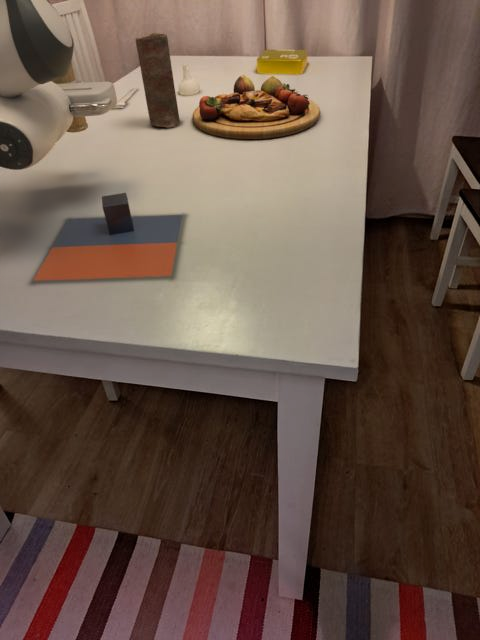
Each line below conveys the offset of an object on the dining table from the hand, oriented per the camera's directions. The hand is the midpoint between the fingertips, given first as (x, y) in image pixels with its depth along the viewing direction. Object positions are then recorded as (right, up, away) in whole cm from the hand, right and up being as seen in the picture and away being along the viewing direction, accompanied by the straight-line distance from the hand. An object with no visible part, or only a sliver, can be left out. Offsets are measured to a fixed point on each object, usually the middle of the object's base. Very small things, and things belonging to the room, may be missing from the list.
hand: (66, 87), depth 84 cm
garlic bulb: (+17, +24, +53) cm, 61 cm away
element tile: (+46, +41, +70) cm, 93 cm away
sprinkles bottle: (0, -6, +4) cm, 7 cm away
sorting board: (+12, -31, -10) cm, 34 cm away
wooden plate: (+36, +9, +34) cm, 50 cm away
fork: (-2, +21, +51) cm, 55 cm away
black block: (+12, -27, -6) cm, 30 cm away
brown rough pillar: (+13, +7, +33) cm, 36 cm away
